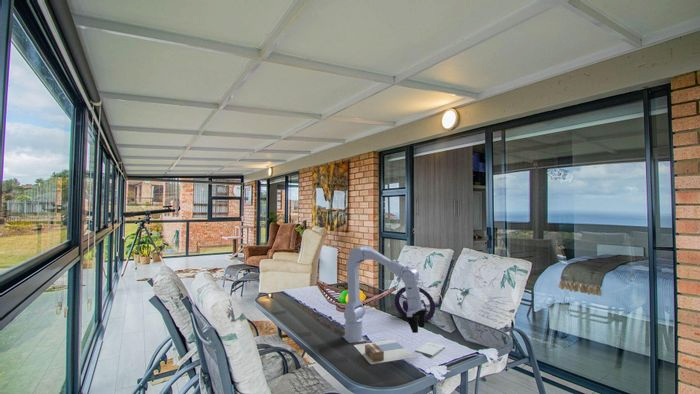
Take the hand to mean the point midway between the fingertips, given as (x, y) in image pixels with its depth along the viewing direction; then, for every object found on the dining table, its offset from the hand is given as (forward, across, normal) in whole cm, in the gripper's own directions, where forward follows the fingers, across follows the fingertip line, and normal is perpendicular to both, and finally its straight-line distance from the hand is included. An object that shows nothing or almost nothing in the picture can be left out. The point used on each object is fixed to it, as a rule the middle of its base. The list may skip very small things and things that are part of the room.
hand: (418, 329), depth 152 cm
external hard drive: (+12, +7, -1) cm, 13 cm away
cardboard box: (+7, -13, +16) cm, 22 cm away
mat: (+8, -5, +15) cm, 18 cm away
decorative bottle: (+7, +46, +21) cm, 51 cm away
